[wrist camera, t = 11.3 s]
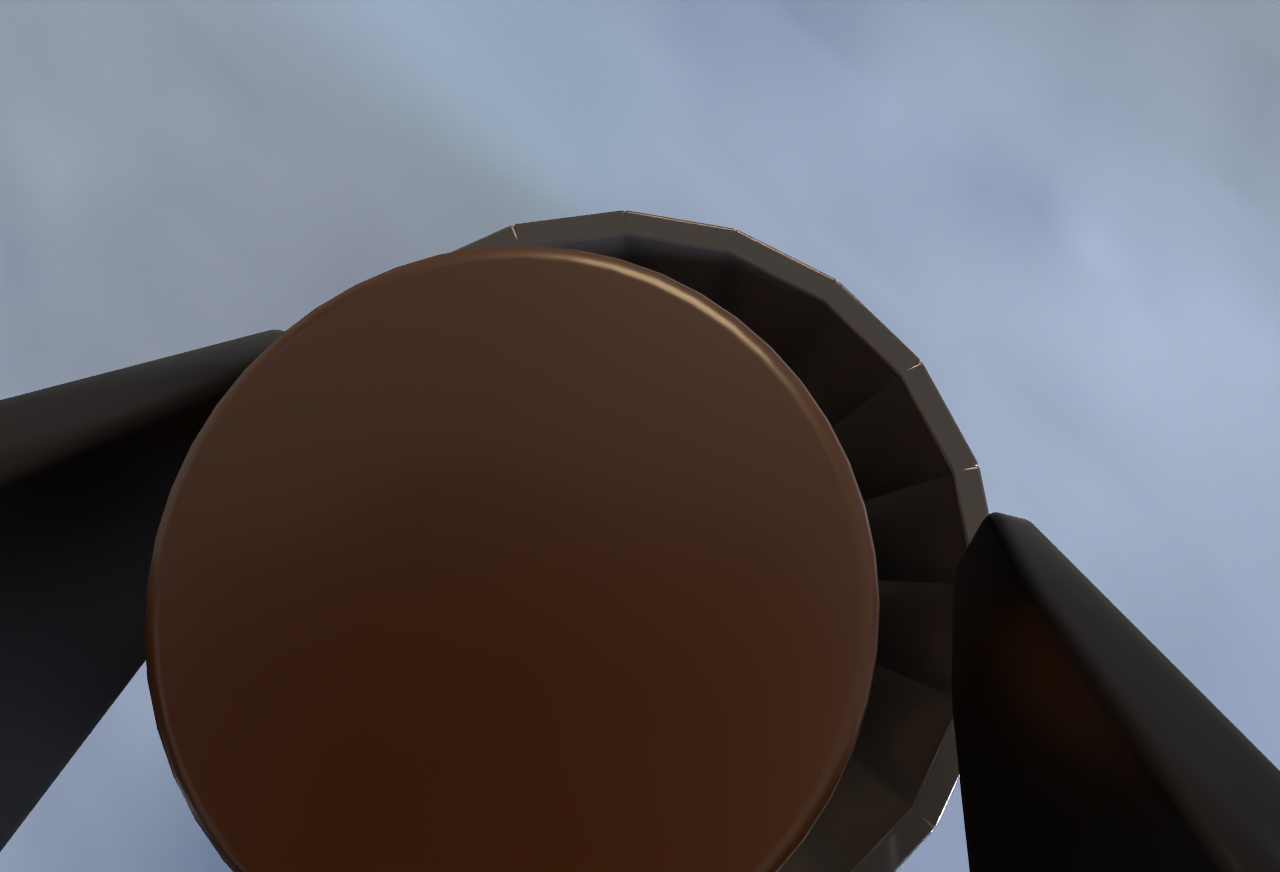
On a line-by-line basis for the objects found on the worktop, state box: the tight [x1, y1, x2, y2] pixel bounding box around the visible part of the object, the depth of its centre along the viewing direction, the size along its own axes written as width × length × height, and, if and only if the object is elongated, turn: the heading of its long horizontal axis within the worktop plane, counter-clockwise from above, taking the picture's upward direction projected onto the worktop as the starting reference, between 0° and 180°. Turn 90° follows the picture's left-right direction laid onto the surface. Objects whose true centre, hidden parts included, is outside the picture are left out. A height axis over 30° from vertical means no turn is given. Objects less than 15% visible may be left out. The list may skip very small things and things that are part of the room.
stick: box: [144, 246, 880, 872], centre depth 9 cm, size 3×3×12 cm
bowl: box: [451, 211, 989, 872], centre depth 13 cm, size 10×10×5 cm
